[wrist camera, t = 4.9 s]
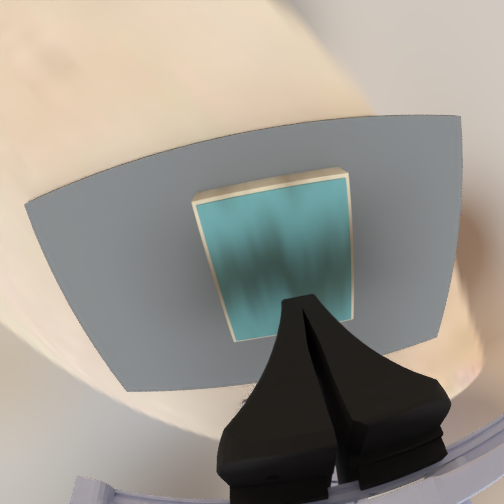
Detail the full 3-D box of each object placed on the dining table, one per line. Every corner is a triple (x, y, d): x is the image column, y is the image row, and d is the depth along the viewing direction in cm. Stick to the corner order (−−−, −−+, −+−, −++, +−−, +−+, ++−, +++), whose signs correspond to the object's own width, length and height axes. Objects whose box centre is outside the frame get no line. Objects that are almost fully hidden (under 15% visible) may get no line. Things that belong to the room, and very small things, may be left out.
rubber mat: (434, 333, 21) (436, 337, 21) (128, 387, 23) (126, 391, 22) (455, 115, 13) (460, 116, 13) (28, 202, 15) (24, 204, 14)
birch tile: (354, 320, 17) (233, 343, 17) (346, 303, 18) (234, 325, 19) (349, 173, 13) (190, 203, 13) (338, 166, 14) (196, 192, 15)
